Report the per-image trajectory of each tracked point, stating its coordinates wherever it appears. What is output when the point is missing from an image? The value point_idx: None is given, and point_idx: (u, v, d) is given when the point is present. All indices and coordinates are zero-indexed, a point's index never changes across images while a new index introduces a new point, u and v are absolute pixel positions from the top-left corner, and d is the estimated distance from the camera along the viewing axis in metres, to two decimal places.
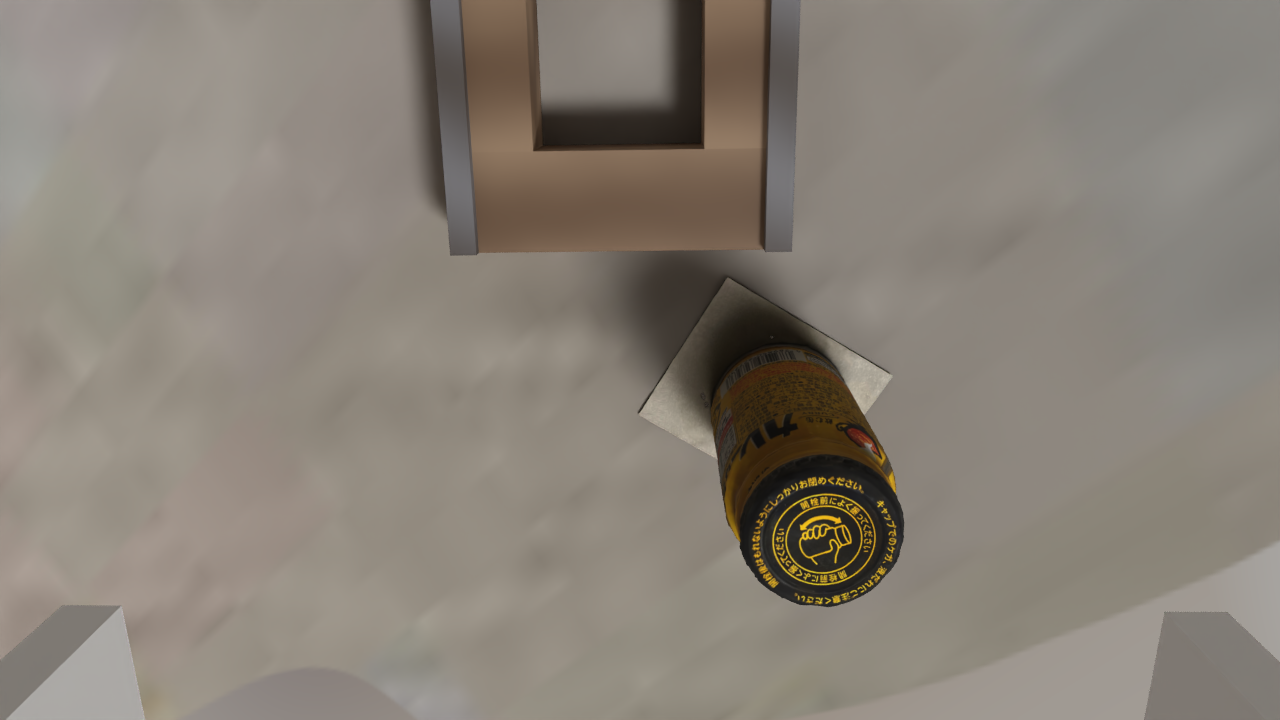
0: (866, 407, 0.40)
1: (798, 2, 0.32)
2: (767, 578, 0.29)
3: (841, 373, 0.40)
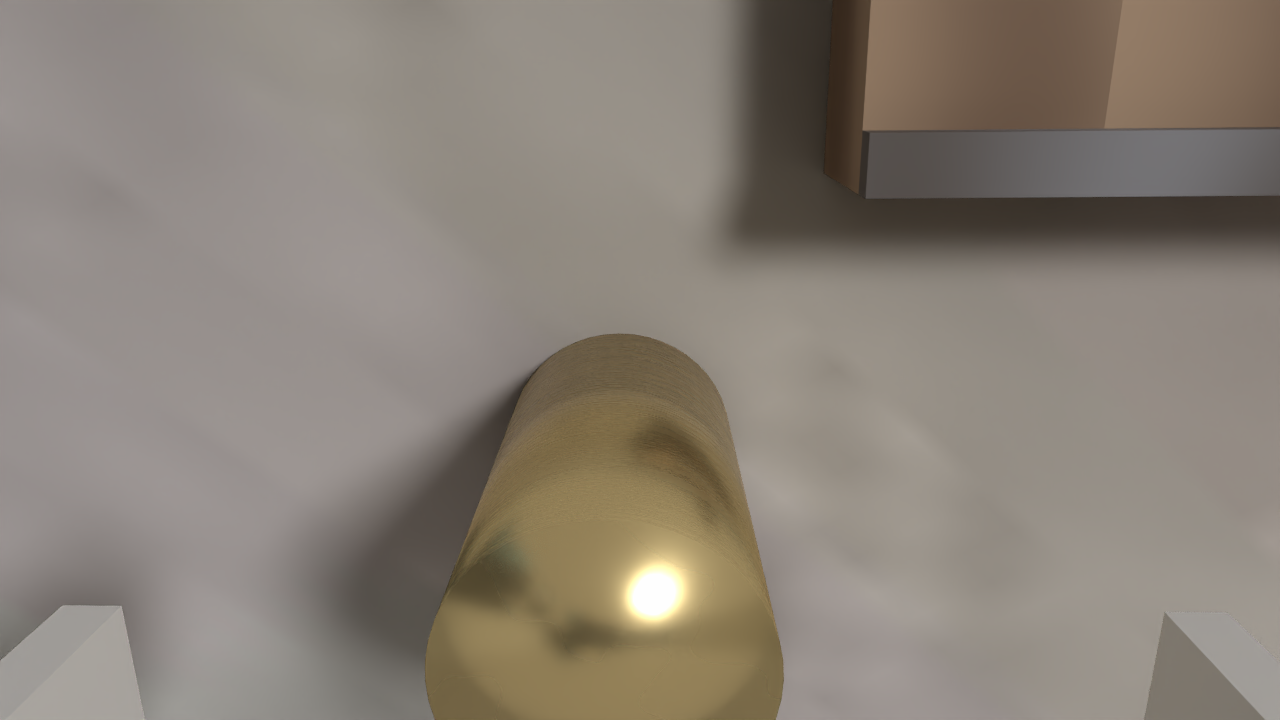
0: None
1: None
2: None
3: None
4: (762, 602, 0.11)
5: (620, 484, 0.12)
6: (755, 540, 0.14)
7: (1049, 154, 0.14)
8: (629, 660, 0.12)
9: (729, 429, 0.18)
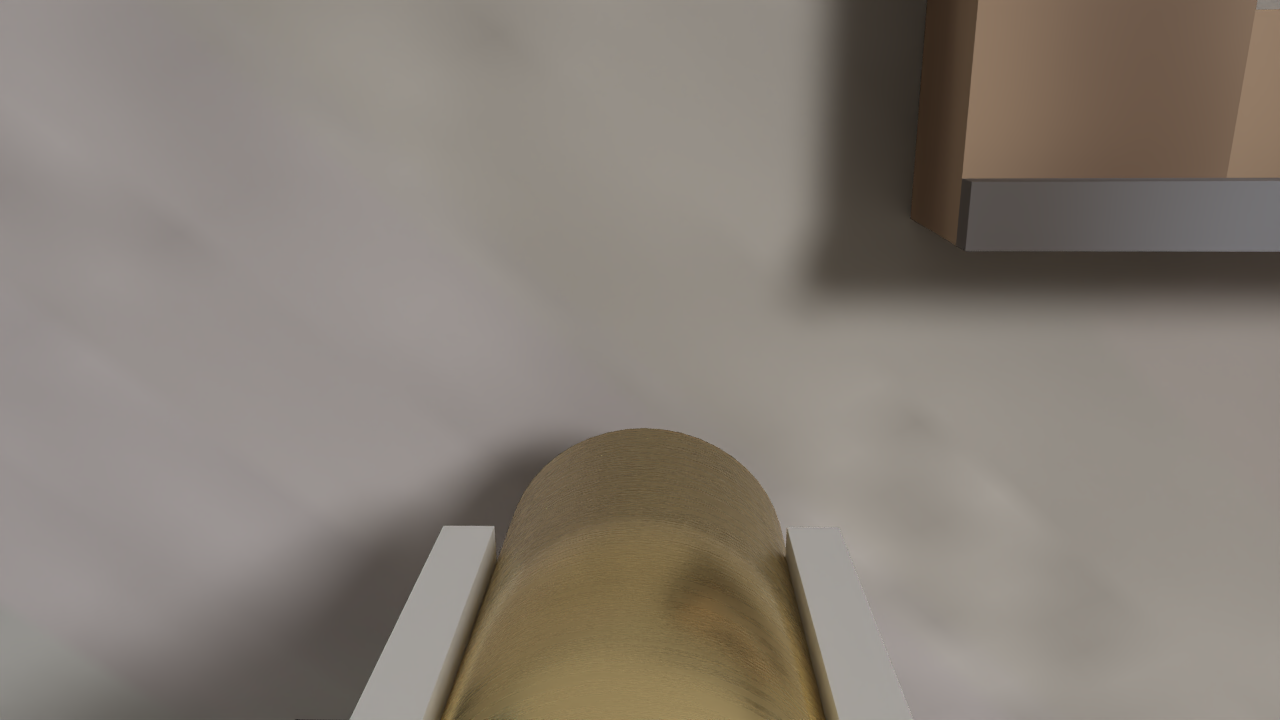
0: None
1: None
2: None
3: None
4: None
5: None
6: None
7: (1167, 205, 0.13)
8: None
9: None
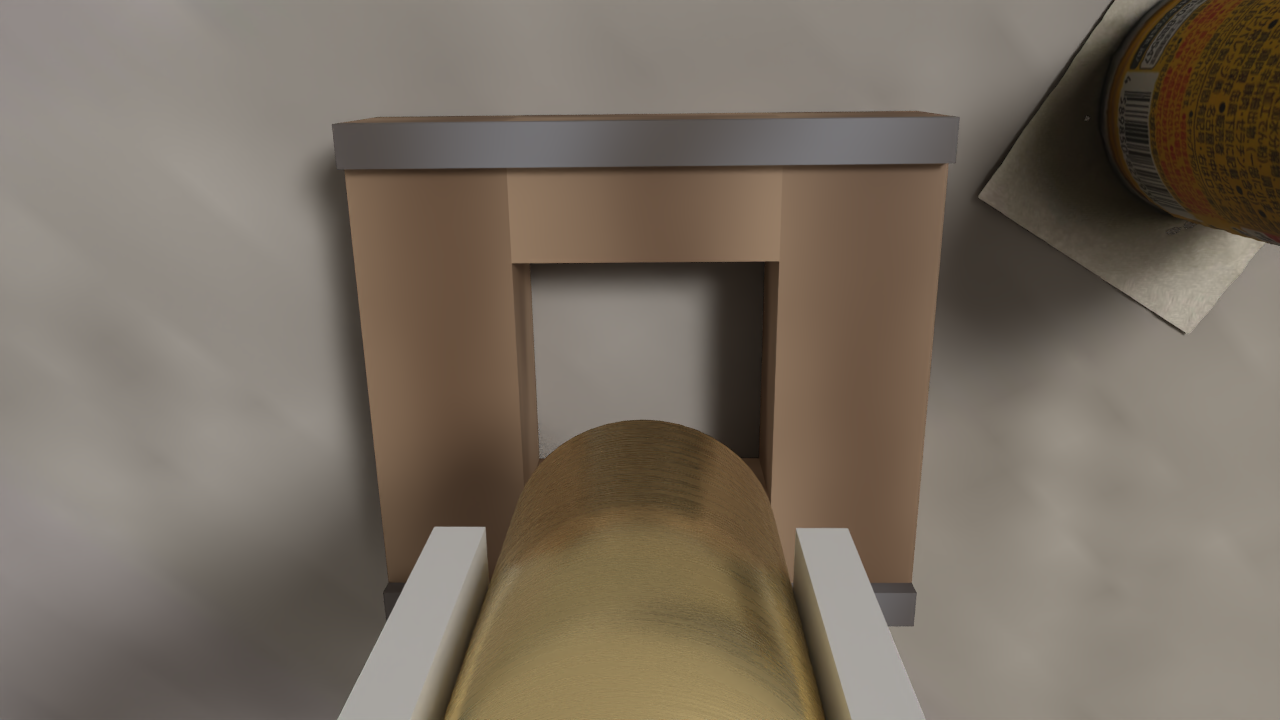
0: None
1: (562, 124, 0.20)
2: None
3: None
4: None
5: (650, 690, 0.08)
6: None
7: None
8: None
9: (780, 544, 0.14)
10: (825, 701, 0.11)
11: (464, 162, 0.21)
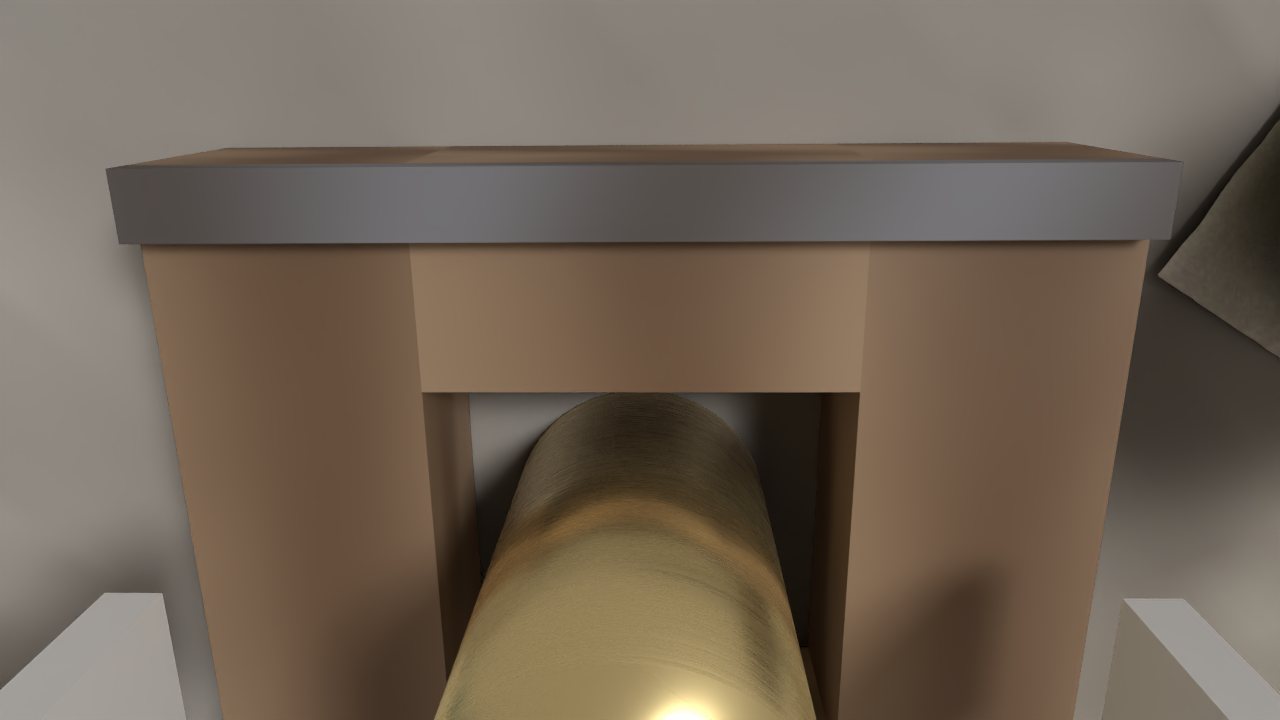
0: None
1: (498, 171, 0.12)
2: None
3: None
4: None
5: (641, 605, 0.10)
6: (801, 657, 0.12)
7: None
8: None
9: (764, 502, 0.16)
10: None
11: (333, 233, 0.12)
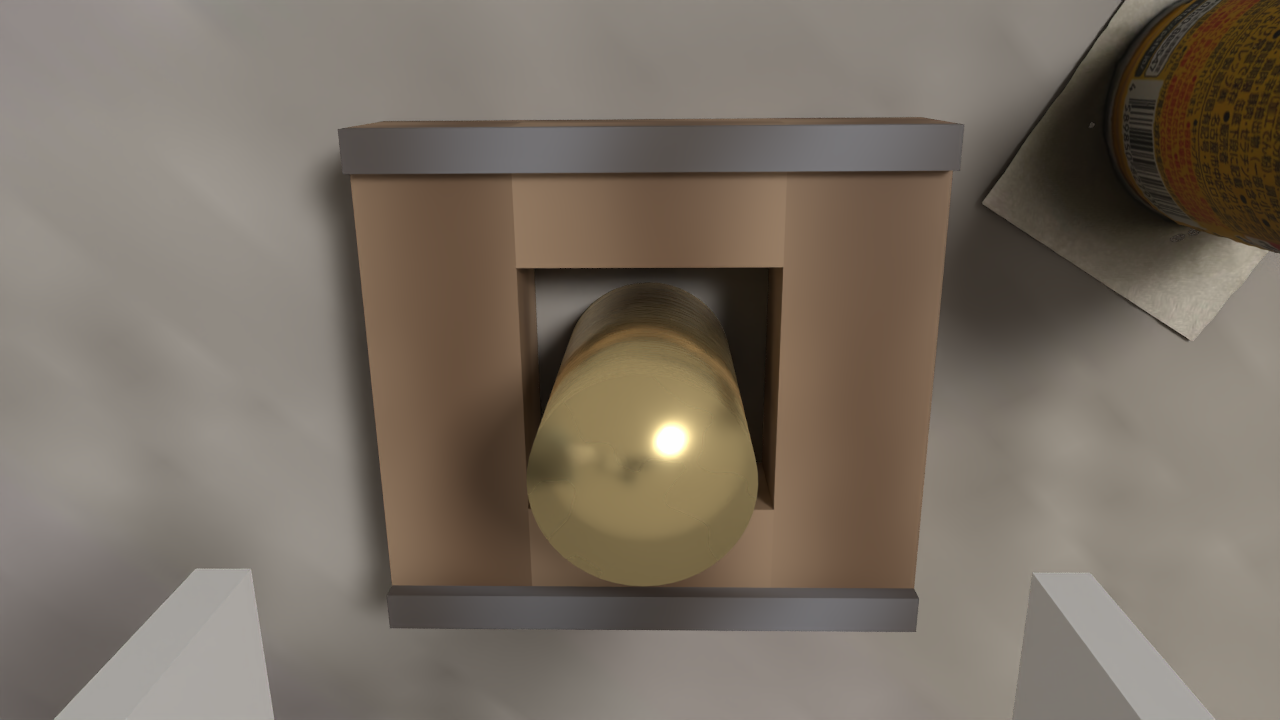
0: None
1: (568, 130, 0.20)
2: None
3: None
4: (743, 430, 0.18)
5: (653, 359, 0.18)
6: (743, 409, 0.20)
7: (491, 607, 0.24)
8: (658, 470, 0.18)
9: (729, 351, 0.24)
10: None
11: (469, 167, 0.21)
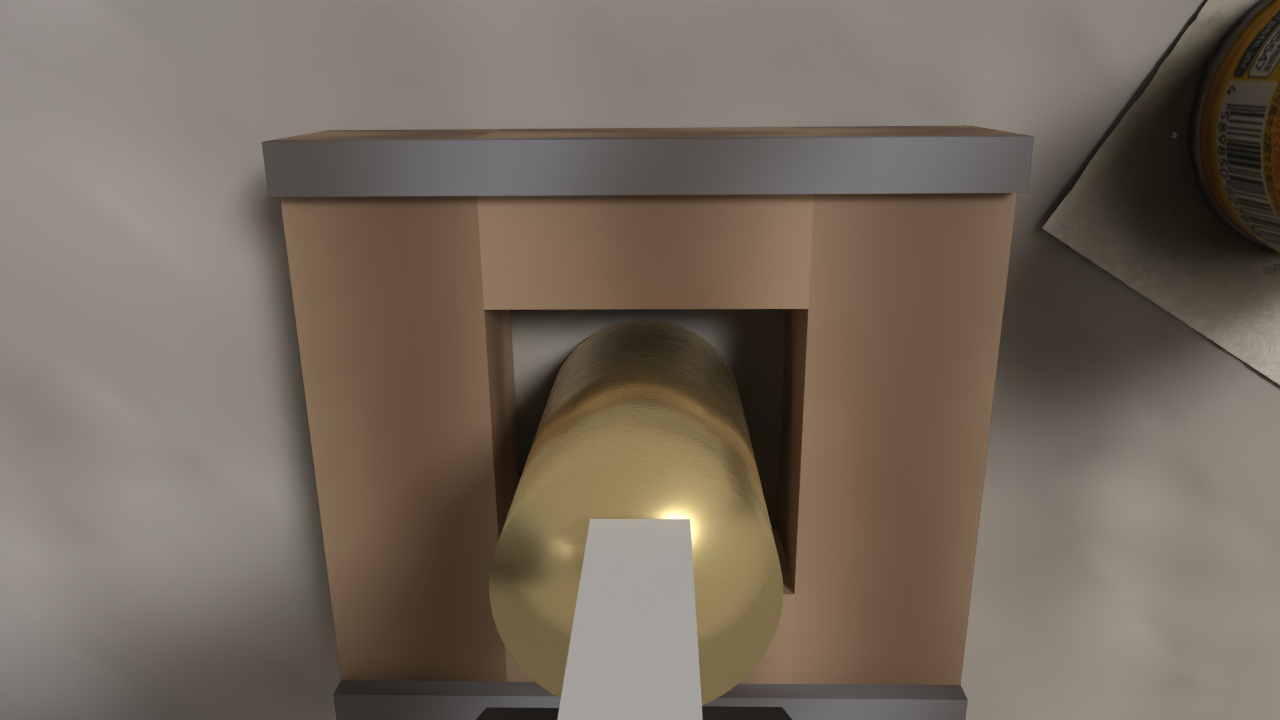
0: None
1: (545, 143, 0.17)
2: None
3: None
4: (765, 529, 0.14)
5: (650, 434, 0.15)
6: (761, 489, 0.16)
7: (457, 708, 0.20)
8: None
9: (741, 403, 0.20)
10: None
11: (425, 188, 0.17)
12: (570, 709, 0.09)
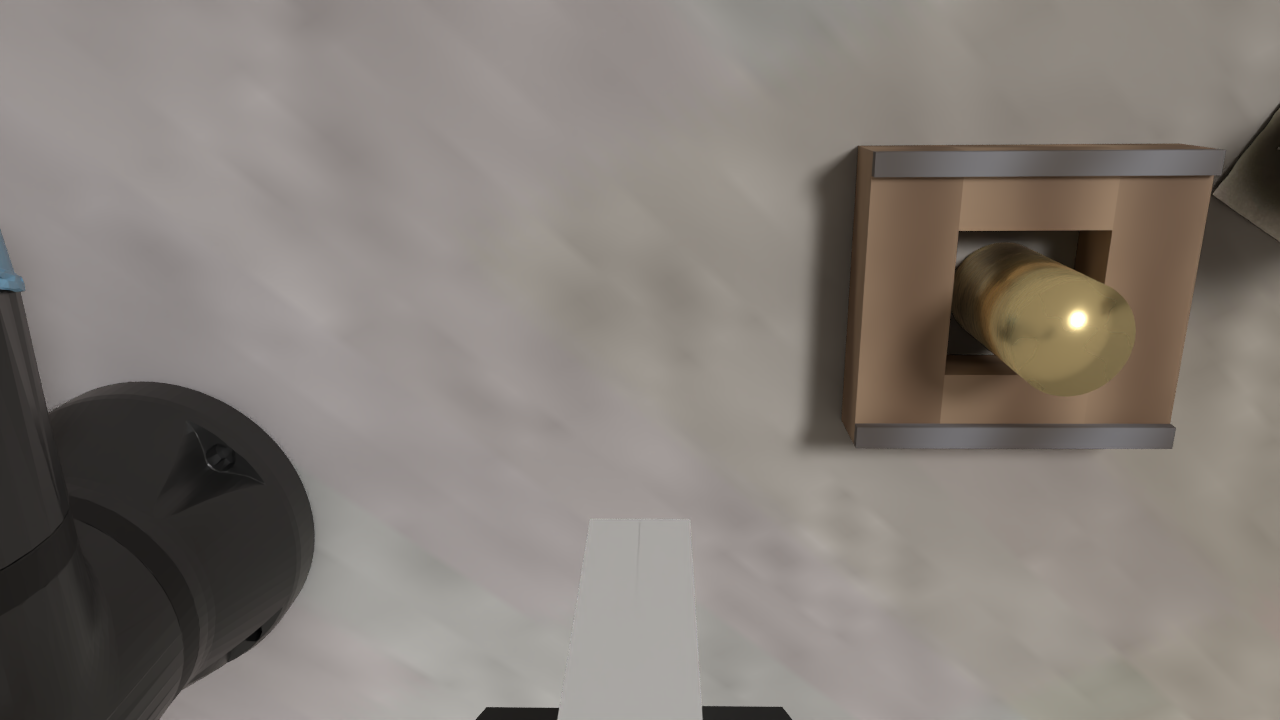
0: None
1: (1005, 153, 0.37)
2: None
3: None
4: None
5: (1075, 274, 0.35)
6: None
7: (919, 434, 0.41)
8: (1083, 331, 0.34)
9: None
10: None
11: (946, 173, 0.37)
12: (570, 709, 0.09)
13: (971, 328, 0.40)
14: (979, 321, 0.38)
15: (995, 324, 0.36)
